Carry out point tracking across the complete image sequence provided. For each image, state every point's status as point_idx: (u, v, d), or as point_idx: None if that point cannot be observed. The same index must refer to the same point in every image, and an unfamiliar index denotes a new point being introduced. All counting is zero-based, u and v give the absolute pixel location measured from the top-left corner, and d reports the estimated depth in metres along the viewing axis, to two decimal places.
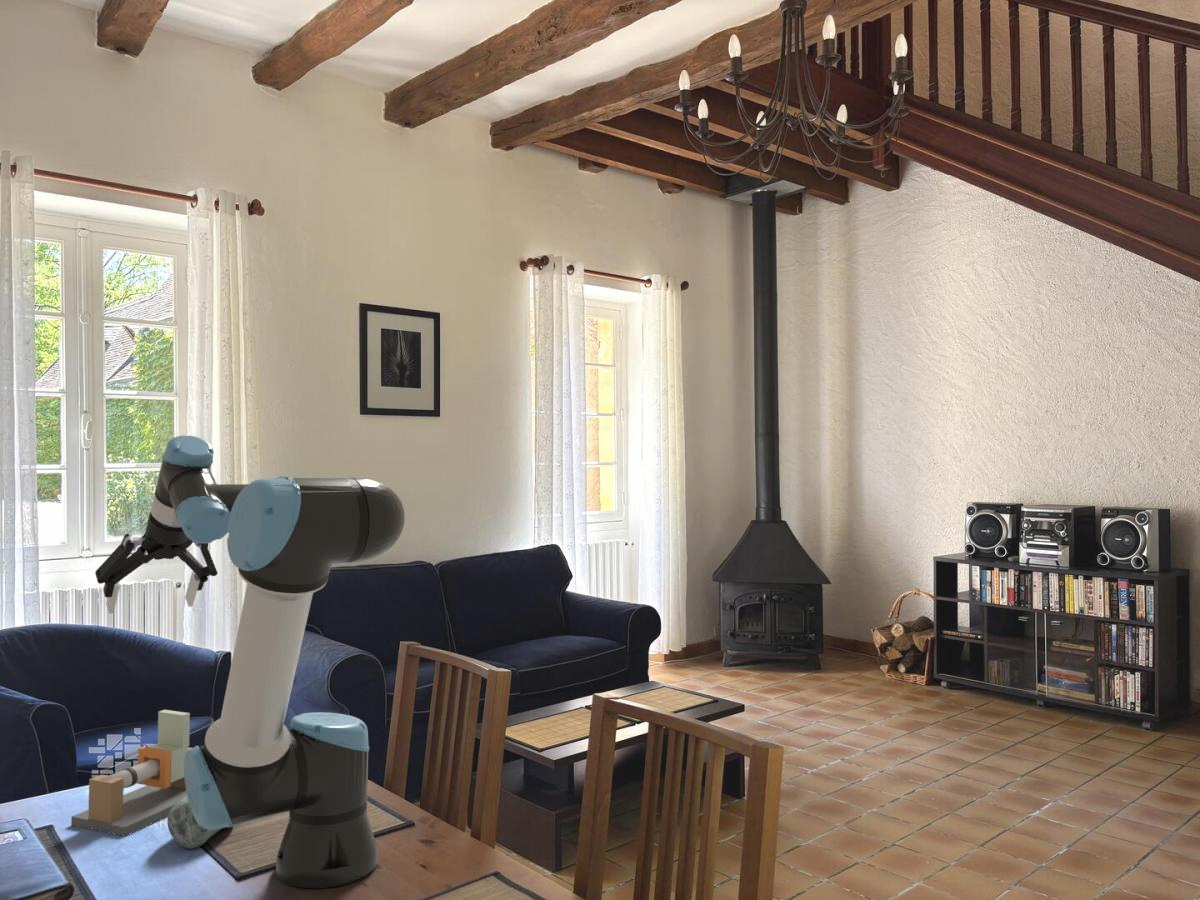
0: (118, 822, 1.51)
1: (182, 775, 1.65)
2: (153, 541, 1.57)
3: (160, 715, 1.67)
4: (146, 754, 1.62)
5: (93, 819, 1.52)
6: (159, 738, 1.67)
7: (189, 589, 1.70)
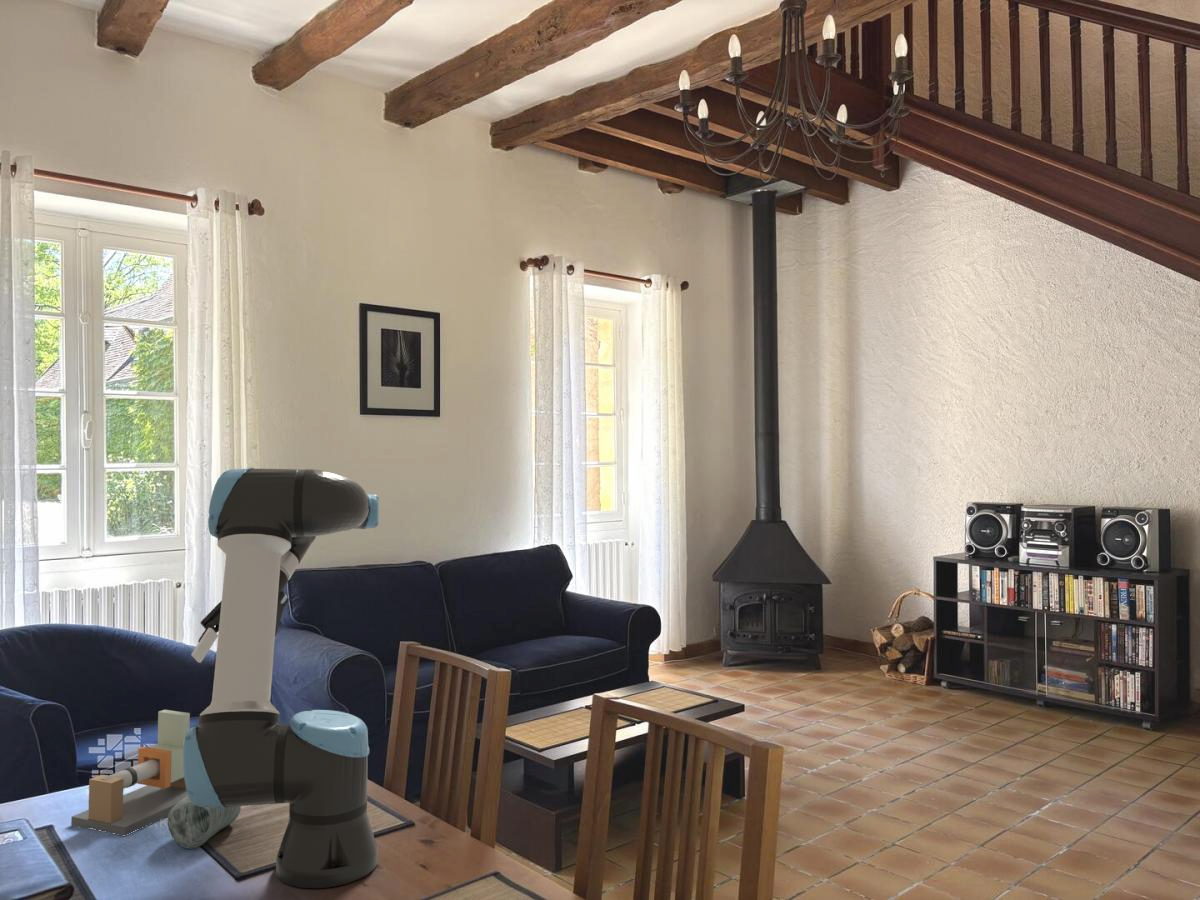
0: (118, 822, 1.51)
1: (182, 775, 1.65)
2: None
3: (160, 715, 1.67)
4: (146, 754, 1.62)
5: (93, 819, 1.52)
6: (159, 738, 1.67)
7: None
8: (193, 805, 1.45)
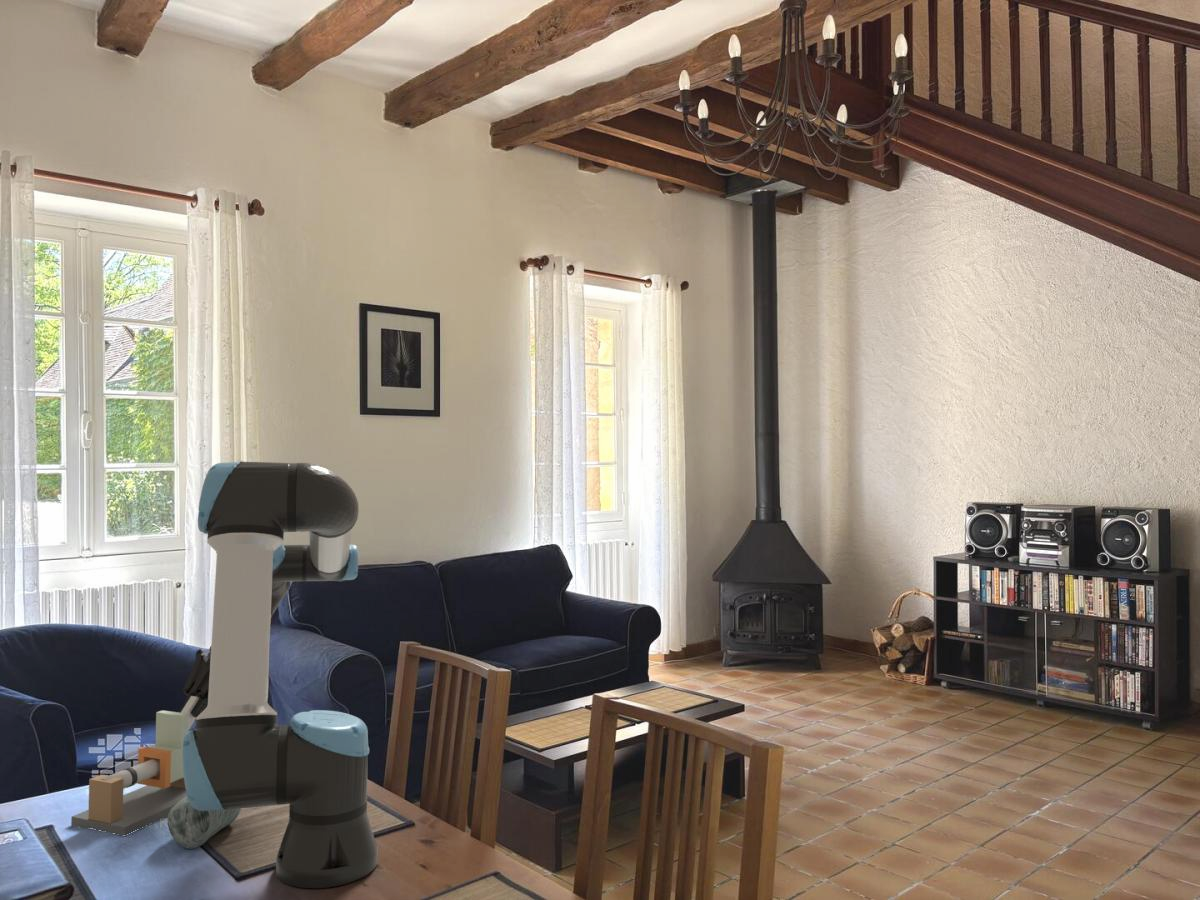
0: (118, 822, 1.51)
1: (180, 776, 1.65)
2: None
3: (158, 715, 1.66)
4: (146, 754, 1.62)
5: (93, 819, 1.52)
6: (157, 739, 1.66)
7: None
8: None
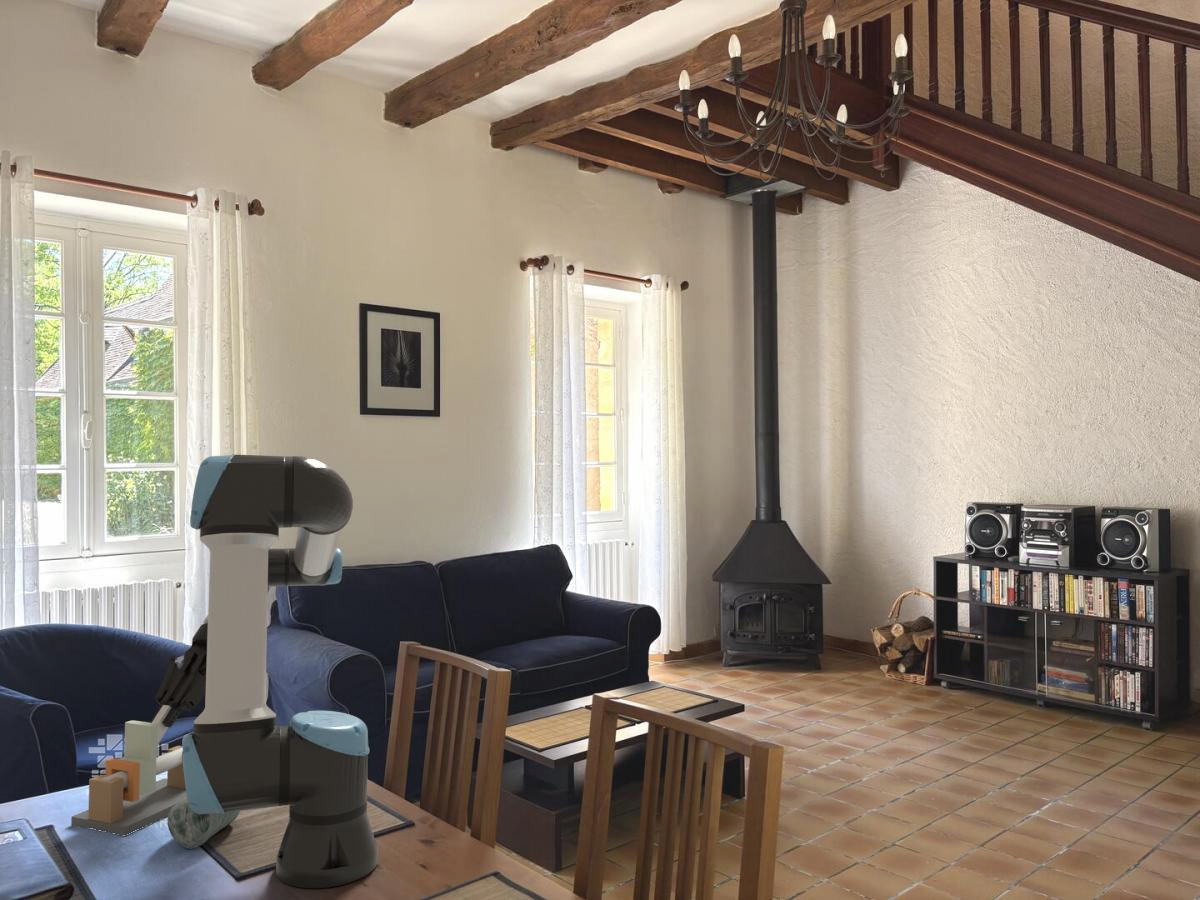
0: (118, 822, 1.51)
1: (150, 789, 1.58)
2: (190, 648, 1.74)
3: (127, 725, 1.60)
4: (114, 766, 1.56)
5: (93, 819, 1.52)
6: (126, 750, 1.60)
7: None
8: None
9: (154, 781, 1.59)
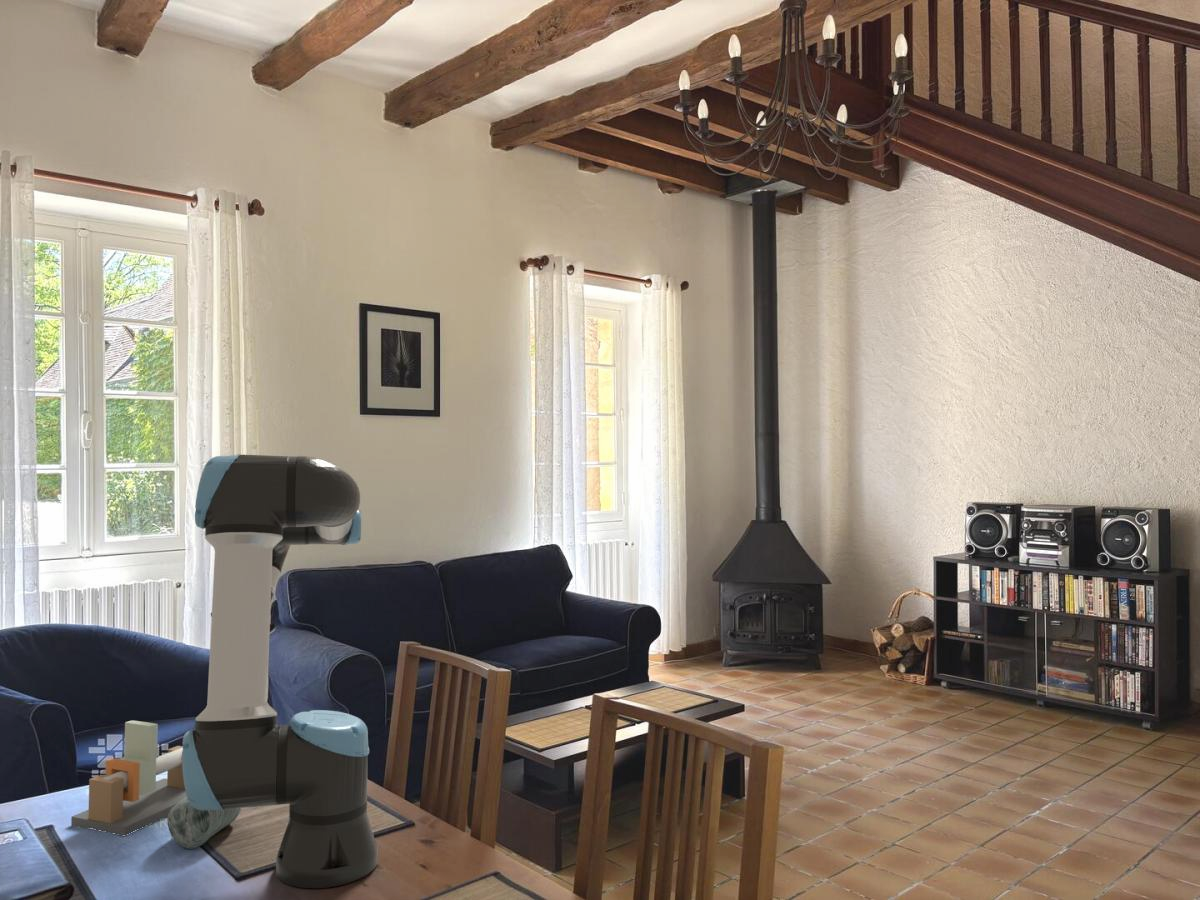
0: (118, 822, 1.51)
1: (149, 789, 1.58)
2: None
3: (127, 725, 1.60)
4: (114, 766, 1.56)
5: (93, 819, 1.52)
6: (126, 750, 1.60)
7: None
8: None
9: (154, 781, 1.59)
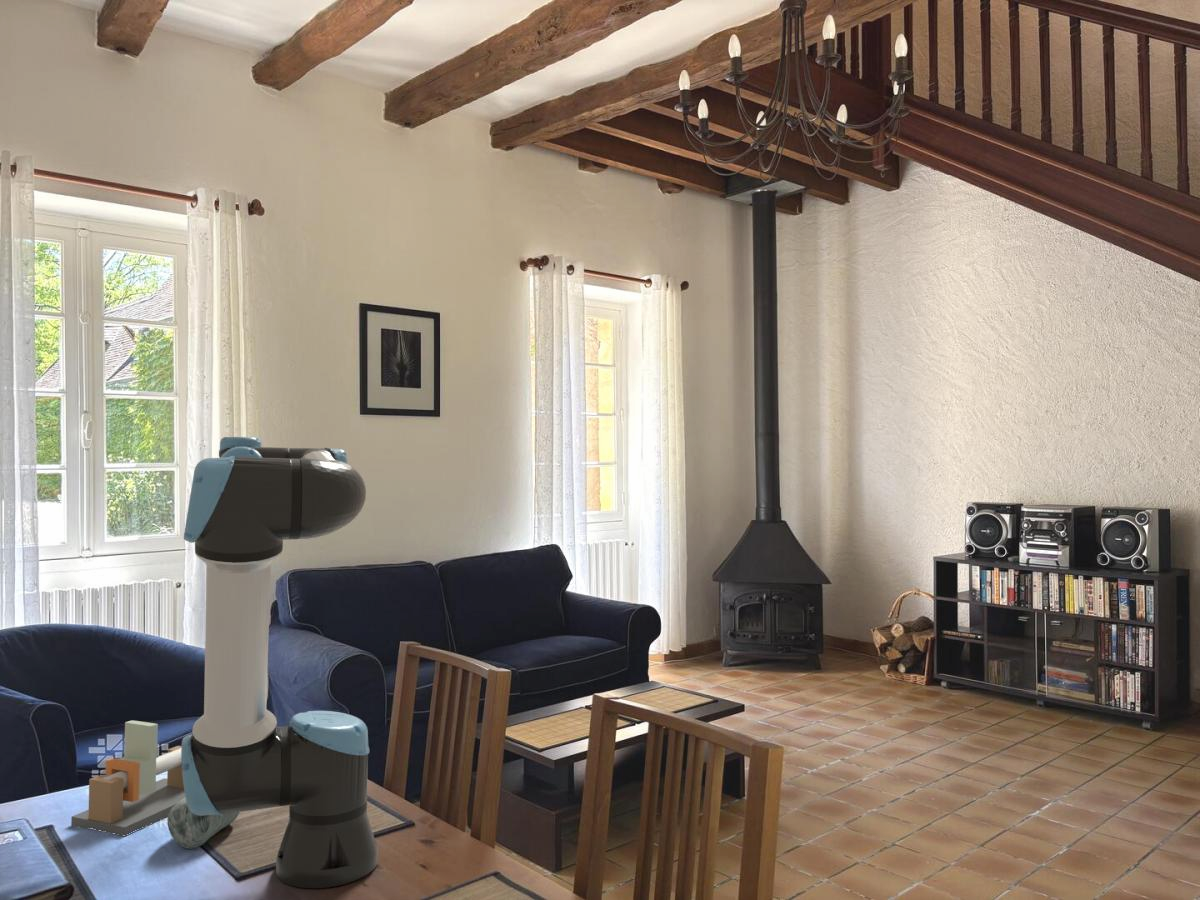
0: (118, 822, 1.51)
1: (149, 789, 1.58)
2: None
3: (127, 725, 1.60)
4: (114, 766, 1.56)
5: (93, 819, 1.52)
6: (126, 750, 1.60)
7: None
8: None
9: (154, 781, 1.59)
